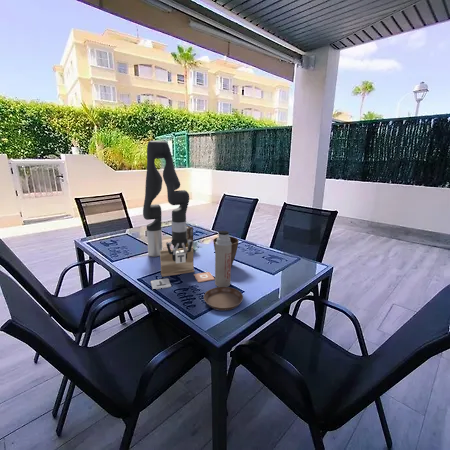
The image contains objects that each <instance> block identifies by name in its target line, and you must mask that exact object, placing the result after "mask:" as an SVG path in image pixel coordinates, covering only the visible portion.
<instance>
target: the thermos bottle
mask: <svg viewBox="0 0 450 450" xmlns="http://www.w3.org/2000/svg"><path fill="white" fill-rule="evenodd" d="M229 235H230V234H229V231H228V230H219V231H218V238H217V237H216V238H217V242H216V243H215V249H214V255H215V257H214V259H215V260H214V261H215V262H214V264H215V265H214V271H215V272H214V279H215V280H214V284H215V286H216V287H230V285H231V276H232V275H231V274H232V273H231V272H232V266H231V244H232V243H231V242H230V238H229V237H230V236H229Z"/></svg>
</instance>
